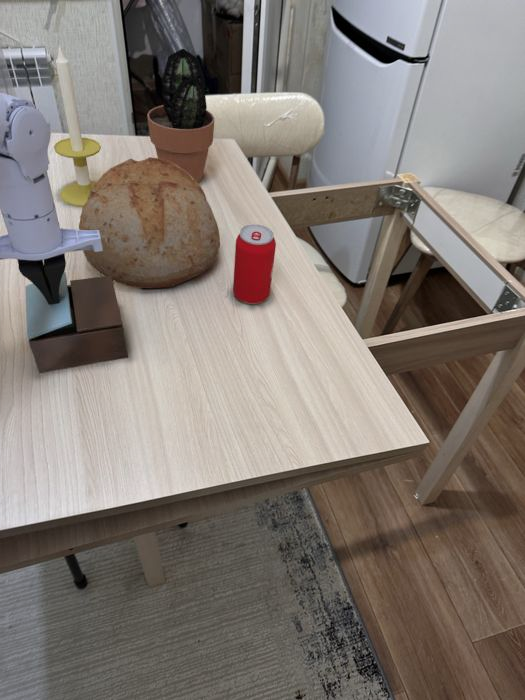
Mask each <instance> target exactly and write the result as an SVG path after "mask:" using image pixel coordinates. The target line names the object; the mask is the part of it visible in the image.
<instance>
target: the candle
mask: <svg viewBox="0 0 525 700" xmlns="http://www.w3.org/2000/svg"><path fill="white" fill-rule="evenodd" d="M57 53H58V54H57V58H56V60H55V65H56V70H57V77H58V82H59V87H60V91H61V98H62V102H63V108H64V114H65V119H66V124H67V130H68V135H69V137H67V138H64V139H61V140H59V141H56V143H55V144H54V145H53V149H54V152H55V153H56V154H58V155H59V156H60V157H64V158H67V159H68V158H69V159H72V162H73V166H74V171H75V172H74V173H75V177H76V182H73V183H70V184H67V185H66V186H64V187H63V188H62V189H61V191H60V193H59V196H60V199H61V200H62V201H63V202H64V203H66V204H67V205H71V206H73V207H83V205H84V204H85V203H86V202H87V200H88V196H89V194H90V192H91V189H92V188H93V186H94V185H95V183H96V182H97V181H91V177H90V172H89V165H88V160H87V158H89V157H94V156H95V155H96V154H99V153H100V151H101V148H102V146H101V144H100V142H98V140H97V141H96V140H95V139H92V138H88V137H82V130H81V123H80V119H79V113H78V107H77V101H76V95H75V90H74V84H73V83H74V82H73V78H72V72H71V66H70V61H69V60H68V59H67V58H66V55H65V54H64V51H63V49H62V48H61V45H60V43H59V44H58V51H57Z"/></svg>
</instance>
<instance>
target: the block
mask: <svg viewBox="0 0 525 700" xmlns="http://www.w3.org/2000/svg"><path fill="white" fill-rule="evenodd" d="M70 310H71V318H72V323H71V324H69V325H66V326H64V327H61V328H58V329H56V330H53V331H50V332H48V333H45V335H46V338H49V337H55V336H61V335H68V334H74V333H79V332H77V327H76V320H75V314H74V310H73V308H71V309H70Z"/></svg>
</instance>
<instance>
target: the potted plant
mask: <svg viewBox="0 0 525 700" xmlns="http://www.w3.org/2000/svg"><path fill="white" fill-rule="evenodd" d="M205 80H206V79H205V76H204V73H203V70H202V65H201V62H200V59H199V58H198V57H197V56H195V55H194V54H192V53H191V52H189V51H187V50H186V49H185V48H181V49H179V50H177V51H175V52H173V53H172V54H170V55H167V60H166V64H165V67H164V71H163V75H162V78H161V92H162V103H163V104H162V105H159V106H155V107H153V108H152V109H150V110H149V111H148V113H147V114H146V116H147V125H148V133H149V139H150V142H151V143H152V144H153V145H154V148H155V152H156V156H157V158H161V159H164V160H167V161H170V162H172V163H174V164H176V165H178V166H179V167H181V168H182V169H184V170H185V171H186V172H188V173H189V174H190V175H191V176H192V177H193V178H194V179H195V181H196V182H197V183H198V184H199V183H200V182H201V181H202V180H203V176H204V171H205V167H206V163H207V159H208V153H209V149H210V147H211V146H212V145H213V142H214V133H215V132H214V131H215V120H216V119H215V116H214V115H213V113H212V112H210V111H209V110H207V109H208V106H207V98H206V91H205V90H206V89H205V87H206V81H205Z"/></svg>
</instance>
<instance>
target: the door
mask: <svg viewBox="0 0 525 700" xmlns="http://www.w3.org/2000/svg"><path fill="white" fill-rule="evenodd" d="M67 285H68V280H67V273H66V272H65V271H64V273H63V276H62V278H61V282H60V287H59V301H60V303H57V304H50V305H49V304H48V303H47V301H46V299H45V297H44V296H43V294H42V293H41V292H40V290H39V289H38V288H37V287H36V286H35V285H34V284H33V283H30V284H27V285H25V287H24V288H25V310H26V311H25V313H26V338H27V339H28V340H29V339H32V338H35V337H37V336H40V335H42V334H45V333H48V332H50V331H53V330H56V329H58V328H61V327H64V326H66V325H69V324H71V323H72V318H71V310H70V303H69V295H68V287H67Z"/></svg>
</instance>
